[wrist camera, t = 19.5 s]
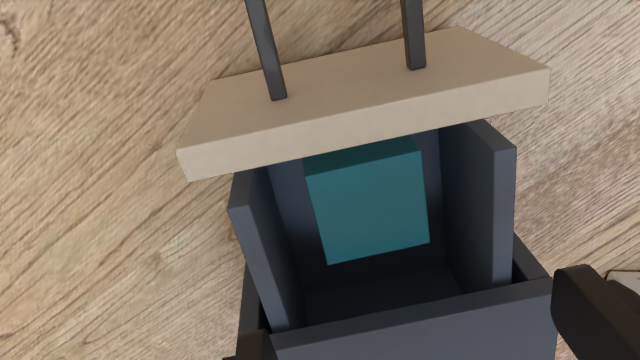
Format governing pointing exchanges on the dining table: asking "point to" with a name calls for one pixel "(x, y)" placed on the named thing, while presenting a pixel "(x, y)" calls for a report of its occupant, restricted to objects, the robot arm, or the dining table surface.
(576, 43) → the dining table surface
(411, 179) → the teal block
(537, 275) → the storage box
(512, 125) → the dining table surface
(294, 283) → the drawer
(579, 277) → the robot arm
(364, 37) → the dining table surface
